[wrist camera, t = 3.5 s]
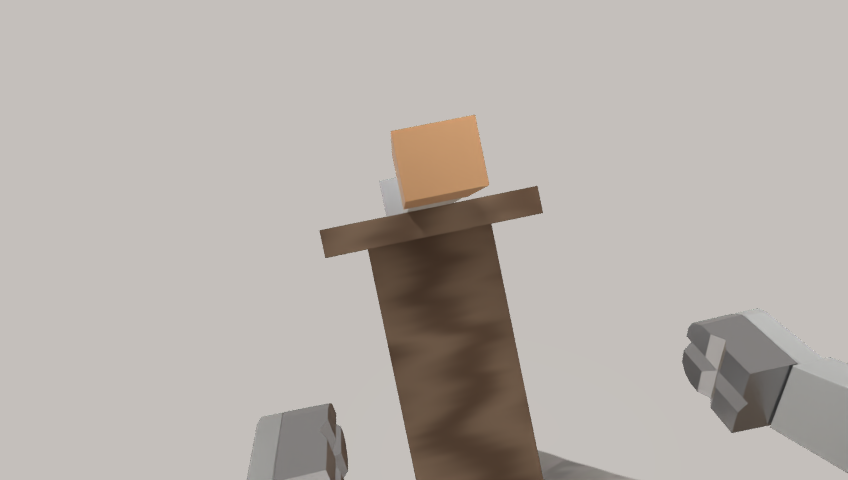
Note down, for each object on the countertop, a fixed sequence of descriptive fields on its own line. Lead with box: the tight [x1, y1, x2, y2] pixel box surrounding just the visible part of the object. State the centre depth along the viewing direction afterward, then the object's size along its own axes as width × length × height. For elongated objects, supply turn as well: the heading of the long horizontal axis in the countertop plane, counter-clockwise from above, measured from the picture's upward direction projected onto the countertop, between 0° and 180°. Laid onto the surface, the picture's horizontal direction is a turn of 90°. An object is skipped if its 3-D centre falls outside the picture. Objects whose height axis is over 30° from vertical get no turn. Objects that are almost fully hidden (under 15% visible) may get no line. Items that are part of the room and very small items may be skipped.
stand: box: [320, 186, 543, 480], centre depth 33 cm, size 12×14×26 cm
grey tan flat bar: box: [379, 115, 489, 217], centre depth 28 cm, size 5×23×3 cm, turn 3°
